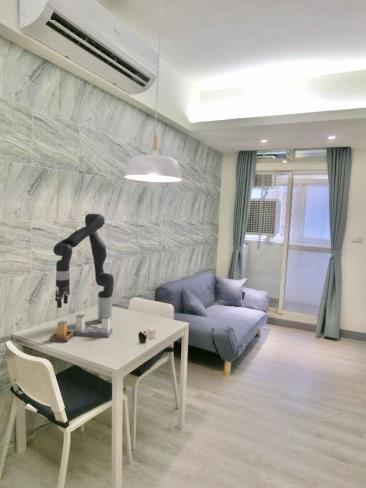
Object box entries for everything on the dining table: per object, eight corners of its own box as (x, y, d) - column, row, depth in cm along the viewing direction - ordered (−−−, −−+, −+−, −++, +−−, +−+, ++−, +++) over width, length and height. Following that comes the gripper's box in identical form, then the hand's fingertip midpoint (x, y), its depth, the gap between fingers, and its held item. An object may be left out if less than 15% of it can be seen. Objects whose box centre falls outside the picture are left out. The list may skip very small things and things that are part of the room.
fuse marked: (60, 335, 191) (60, 320, 190) (67, 335, 191) (67, 321, 190) (57, 337, 187) (57, 322, 186) (64, 338, 187) (64, 323, 186)
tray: (57, 334, 194) (57, 330, 194) (73, 335, 194) (73, 331, 194) (50, 340, 184) (50, 336, 184) (67, 342, 184) (67, 337, 184)
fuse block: (78, 329, 203) (78, 312, 202) (112, 331, 203) (112, 314, 202) (72, 335, 195) (72, 317, 194) (108, 337, 194) (108, 319, 193)
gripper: (61, 275, 193) (61, 301, 195) (50, 280, 179) (50, 308, 180) (73, 276, 193) (73, 302, 194) (64, 281, 179) (63, 309, 180)
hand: (62, 305), depth 187 cm, fingers open, 8 cm apart
